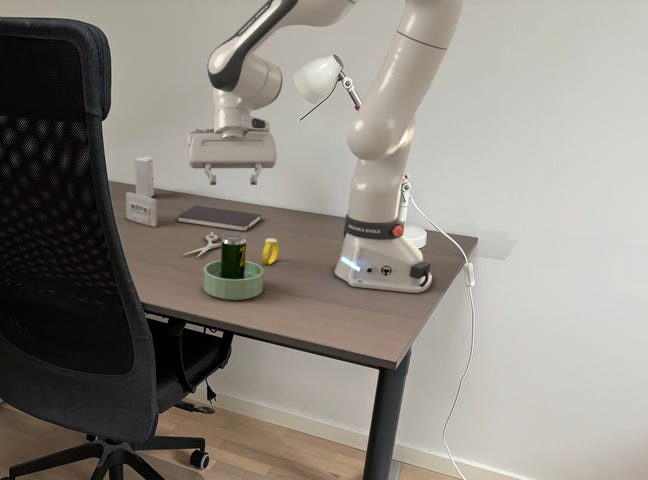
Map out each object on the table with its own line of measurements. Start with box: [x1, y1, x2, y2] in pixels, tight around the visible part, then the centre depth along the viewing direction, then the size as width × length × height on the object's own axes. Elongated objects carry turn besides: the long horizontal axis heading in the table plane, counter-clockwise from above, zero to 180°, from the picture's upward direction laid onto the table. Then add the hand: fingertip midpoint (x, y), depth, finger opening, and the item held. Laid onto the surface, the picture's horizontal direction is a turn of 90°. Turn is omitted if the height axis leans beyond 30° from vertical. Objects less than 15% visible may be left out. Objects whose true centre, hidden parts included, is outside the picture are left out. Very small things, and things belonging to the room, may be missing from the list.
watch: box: [262, 237, 279, 266], centre depth 182 cm, size 6×3×6 cm, turn 148°
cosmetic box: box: [134, 156, 155, 198], centre depth 235 cm, size 6×4×12 cm
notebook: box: [177, 205, 262, 232], centre depth 215 cm, size 13×2×21 cm
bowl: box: [202, 259, 265, 301], centre depth 166 cm, size 13×13×5 cm
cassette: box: [125, 191, 158, 228], centre depth 211 cm, size 12×2×8 cm, turn 47°
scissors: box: [182, 232, 222, 258], centre depth 192 cm, size 11×1×20 cm
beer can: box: [220, 232, 247, 279], centre depth 164 cm, size 5×5×12 cm
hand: (233, 184), depth 170 cm, fingers open, 8 cm apart
